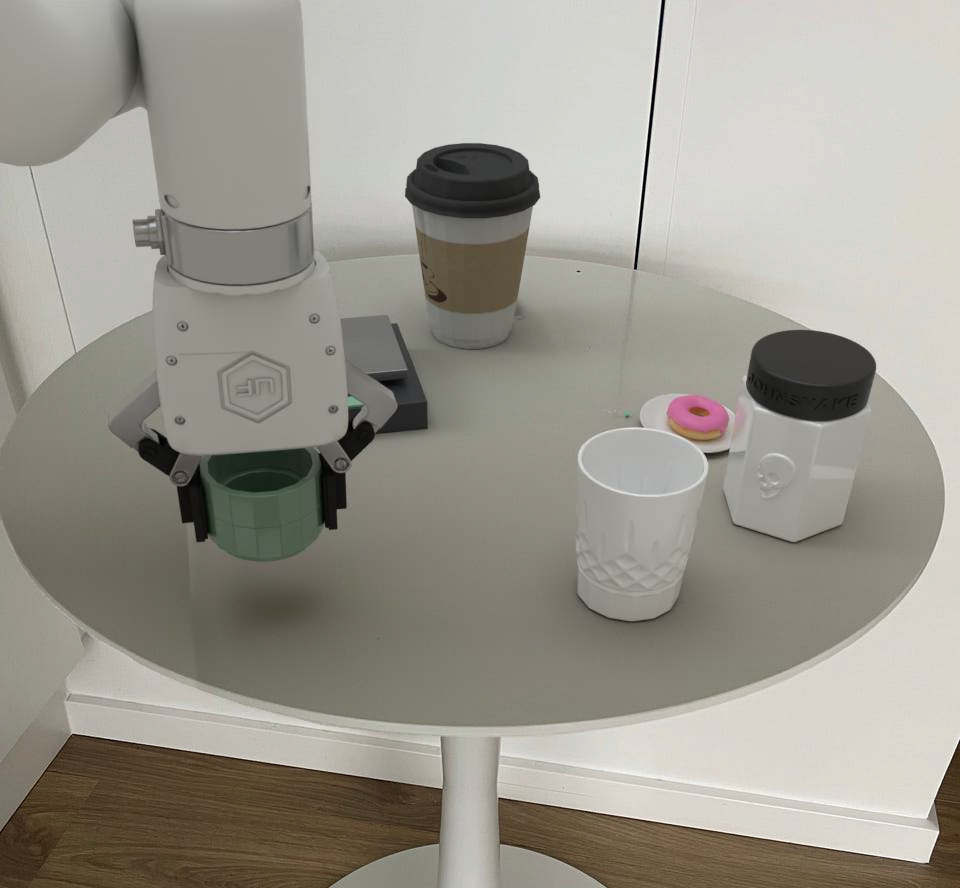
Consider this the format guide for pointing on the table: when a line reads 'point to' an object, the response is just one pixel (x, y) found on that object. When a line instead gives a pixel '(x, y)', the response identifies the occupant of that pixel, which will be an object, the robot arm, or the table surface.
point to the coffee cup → (472, 238)
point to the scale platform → (373, 347)
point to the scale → (401, 397)
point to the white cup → (636, 519)
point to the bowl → (263, 502)
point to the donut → (690, 420)
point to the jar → (798, 433)
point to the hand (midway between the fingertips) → (265, 521)
